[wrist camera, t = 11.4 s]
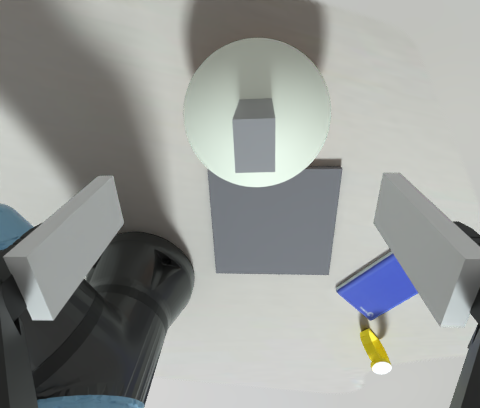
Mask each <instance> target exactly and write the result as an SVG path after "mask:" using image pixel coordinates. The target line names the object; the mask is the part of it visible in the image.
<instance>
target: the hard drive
mask: <svg viewBox="0 0 480 408" xmlns="http://www.w3.org/2000/svg"><path fill="white" fill-rule="evenodd" d="M336 291H337V293H338V294H339V295H340V296H341V297H343V298H344V299H345V300H346V301H347V302H349V303H350V304H351V305H352V306H353V307H355V308H356V309H357V310H358V311H359V312H360V313H362V314H363V315H364V316H365V317H366V318H368V319H369V320H370V321H371V320H373V319H375V318H377V317H378V316H380V315H382V314H383V313H385V312H387V311H389V310H390V309H392V308H394V307H395V306H397V305H399V304H400V303H402V302H404V301H405V300H407V299H409V298H411V297H412V296H414V295H416V294H418V292H417V290H416V289H415V287H414V285H413V284H412V282H411V281H410V279H409V278H408V276H407V274H406V273H405V271H404V270H403V268H402V267H401V265H400V264H399V262H398V260H397V259H396V257H395V256H394V254H393V253H392V251H391V252H389V253H388V254H386V255H385V256H383V257H382V258H380V259H379V260H377V261H376V262H374V263H373V264H371V265H369V266H368V267H366V268H365V269H363V270H362V271H361V272H359V273H358V274H356V275H355V276H353V277H352V278H350V279H349V280H347V281H346V282H344V283H343V284H341V285H340V286H338V287H336Z"/></svg>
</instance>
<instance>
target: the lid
mask: <svg viewBox="0 0 480 408" xmlns="http://www.w3.org/2000/svg"><path fill="white" fill-rule="evenodd" d="M183 116H184V126H185V131H186V135H187V138H188V141H189V143H190V145H191V147H192V149H193V151H194V153H195V154H196V156H197V157H198V158H199V160H200V161H201V162H202V163H203V164H204V165H205V166H206V167H207V168H208V169H209V170H210V171H211V172H213V173H214V174H215V175H217V176H218V177H220V178H222V179H224V180H226V181H228V182H231V183H233V184H237V185H240V186H246V187H267V186H272V185H276V184H279V183H282V182H285V181H287V180H289V179H291V178H293V177H294V176H296V175H298V174H299V173H300V172H302V171H303V170H304V169H305V168H307V167H308V165H309V164H310V163H311V162H312V161H313V160H314V159H315V157H316V156H317V155H318V153H319V152H320V150H321V148H322V147H323V144H324V142H325V140H326V137H327V134H328V131H329V127H330V120H331V104H330V97H329V93H328V89H327V86H326V84H325V81H324V79H323V77H322V75H321V73H320V72H319V70H318V69H317V67H316V66H315V65H314V64H313V62H312V61H311V60H310V59H309V58H308V57H307V56H306V55H305V54H303V53H302V52H300V51H299V50H298V49H296V48H295V47H293V46H291V45H289V44H287V43H284V42H281V41H278V40H274V39H268V38H248V39H242V40H238V41H235V42H232V43H230V44H227V45H225V46H223V47H221V48H220V49H218V50H217V51H215V52H214V53H213V54H211V55H210V56H209V57H208V58H207V59H206V60H205V61H204V62H203V63H202V64H201V65H200V66H199V68H198V69H197V71H196V72H195V74H194V75H193V77H192V79H191V81H190V83H189V86H188V89H187V92H186V96H185V101H184V110H183Z"/></svg>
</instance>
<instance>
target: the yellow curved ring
mask: <svg viewBox="0 0 480 408" xmlns="http://www.w3.org/2000/svg"><path fill="white" fill-rule="evenodd" d="M360 338H361V341H362V344H363V346H364V348H365V350H366V352H367V354H368V356H369V358H370V360H371V361H372V362H371V368H372V370H373V372H375V373H377V374H386V373H388V372H390V370H391V369H392V366H391V363H390V361H389V358H388V356H387V353H386V351H385V349H384V347H383V346H382V344H381V342H380V341H379V339H378V338H377V337H376V336H375V335H374V333H373V332H372V331H371V330H370V329H369V328H368V329H366V330H364V331H362V332H360Z"/></svg>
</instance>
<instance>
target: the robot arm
mask: <svg viewBox="0 0 480 408" xmlns="http://www.w3.org/2000/svg"><path fill="white" fill-rule="evenodd" d="M123 224H124V220H123V216H122V212H121V207H120V203H119V199H118V194H117V190H116V186H115V181H114V177H113V176H97V177H96V178H95V179H94V180H93V181H91V182H90V183H89V184H88V185H87V186H86V187H84V188H83V189H82V190H81V191H80V192H79V193H77V194H76V195H75V196H74V197H73V198H71V199H70V200H69V201H68V202H67V203H66V204H64V205H63V206H62V207H61V208H60V209H59V210H57V211H56V212H55V213H54V214H53V215H51V216H50V217H49V218H48V219H47V220H46V221H44V222H43V223H41V224H39V225H37V226H35V227H33V226H32V225H31V224H30V223H29V222H28V221H27V220H25V219H24V218H23V217H22V216H21V215H20V214H19V213H18V212H17V211H16V210H14V209H13V208H12V207H10V206H8V205H5V204H0V408H144V407H145V402H146V399H147V396H148V392H149V389H150V386H151V382H152V379H153V376H154V372H155V369H156V366H157V362H158V359H159V356H160V352H161V349H162V346H163V343H164V339H165V336H166V333H167V330H168V328H169V327H170V326H171V324H172V323H173V322H174V321H175V319H176V318H177V317H178V315H179V314H180V313H181V311H182V310H183V309H184V308H185V307H186V305H187V303H188V302H189V300H190V297H191V294H192V290H193V286H194V272H193V268H192V266H191V264H190V262H189V260H188V259H187V257H186V256H185V255H184V254H183V252H182V251H181V250H180V249H178V248H177V247H176V246H175V245H173V244H172V243H170V242H169V241H167V240H165V239H163V238H160V237H158V236H155V235H152V234H147V233H140V232H130V233H123V234H119V235H116V234H117V232H118V231H119V230H120V228H121V227H122V226H123ZM374 225H375V226H376V228H377V229H378V231H379V232H380V234H381V235H382V237H383V239H384V240H385V242H386V243H387V245H388V246H389V248H390V250H391V251H392V253H393V254H394V256H395V257H396V259H397V260H398V262H399V264H400V265H401V267H402V268H403V270H404V271H405V273H406V274H407V276H408V278H409V279H410V281H411V282H412V284H413V285H414V287H415V289H416V290H417V292H418V293H419V295H420V296H421V298H422V299H423V301H424V303H425V304H426V306H427V307H428V309H429V310H430V312H431V314H432V315H433V317H434V318H435V320H436V321H437V323H438V324H439V326H440V327H465V325H466V322H467V320H468V318H469V315H470V313H471V315H472V316H473V317H474V319H475V320H476V321H477V322H478V325H477V327H476V330H475V332H474V334H473V336H472V339H471V341H470V343H469V345H468V347H467V348H469V350H468V353H467V356H466V359H465V363H464V365H463V368H462V371H461V375H460V377H459V380H458V383H457V386H456V389H455V393H454V396H453V399H452V402H451V405H450V408H480V235H479V234H478V233H477V232H475V231H474V230H473V229H472V228H470V227H468V226H466V225H464V224H462V223H460V222H452V221H451V220H450V219H449V218H448V217H447V216H446V215H445V214H444V213H443V212H442V211H440V210H439V209H438V208H437V207H436V206H435V205H434V204H433V203H432V202H431V201H430V200H429V199H427V198H426V197H425V196H424V195H423V194H422V193H421V192H420V191H419V190H418V189H417V188H416V187H414V186H413V185H412V184H411V183H410V182H409V181H408V180H407V179H406V178H405V177H404V176H403V175H401V174H400V173H383V176H382V181H381V186H380V191H379V197H378V202H377V207H376V212H375V217H374ZM115 235H116V236H115ZM85 276H86V280H85V279H84V278H85Z"/></svg>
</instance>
